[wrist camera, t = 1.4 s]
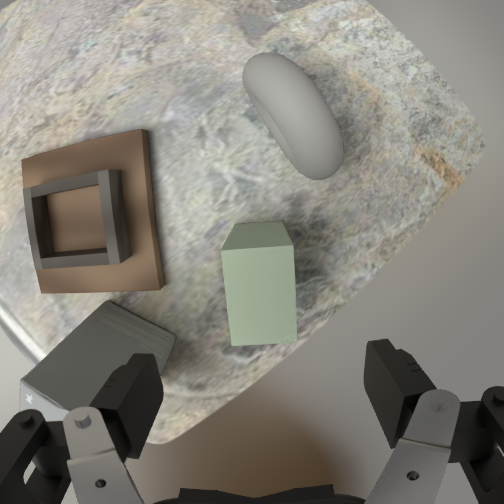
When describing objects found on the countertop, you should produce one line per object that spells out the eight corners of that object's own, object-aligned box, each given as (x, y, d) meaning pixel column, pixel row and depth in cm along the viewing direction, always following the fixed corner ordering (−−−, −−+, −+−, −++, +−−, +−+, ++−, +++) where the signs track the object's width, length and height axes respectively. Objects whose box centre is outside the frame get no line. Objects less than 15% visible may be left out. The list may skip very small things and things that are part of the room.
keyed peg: (234, 224, 28) (220, 250, 18) (281, 220, 27) (293, 245, 18) (241, 290, 29) (231, 345, 19) (285, 287, 29) (297, 341, 19)
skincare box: (93, 343, 31) (13, 435, 15) (109, 290, 29) (11, 376, 14) (161, 381, 32) (110, 494, 16) (185, 331, 30) (131, 451, 15)
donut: (237, 89, 25) (225, 45, 15) (271, 70, 24) (277, 19, 15) (300, 187, 27) (322, 192, 17) (334, 167, 26) (373, 162, 16)
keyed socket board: (30, 159, 26) (5, 159, 22) (147, 131, 26) (130, 124, 22) (48, 288, 30) (28, 301, 26) (164, 284, 29) (151, 300, 25)
